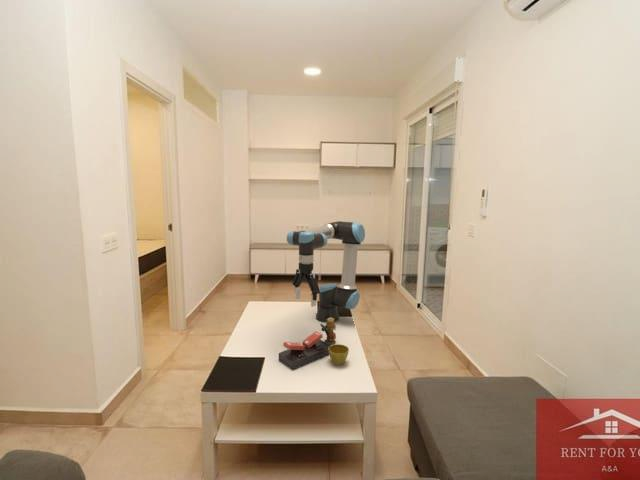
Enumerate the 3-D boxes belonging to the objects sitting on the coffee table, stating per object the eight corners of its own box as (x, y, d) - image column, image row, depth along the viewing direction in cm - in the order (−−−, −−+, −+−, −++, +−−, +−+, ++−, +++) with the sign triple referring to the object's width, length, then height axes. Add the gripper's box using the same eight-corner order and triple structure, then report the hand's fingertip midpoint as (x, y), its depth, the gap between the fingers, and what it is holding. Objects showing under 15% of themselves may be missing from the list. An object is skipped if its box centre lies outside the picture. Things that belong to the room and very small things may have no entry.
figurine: (338, 341, 193) (339, 316, 191) (333, 346, 186) (334, 320, 184) (323, 338, 197) (324, 313, 194) (318, 343, 190) (318, 317, 188)
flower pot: (328, 356, 175) (328, 343, 174) (347, 357, 175) (348, 344, 174) (327, 367, 165) (328, 353, 164) (348, 367, 165) (349, 354, 164)
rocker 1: (298, 346, 177) (299, 342, 177) (304, 350, 173) (305, 346, 173) (283, 345, 170) (284, 341, 170) (289, 349, 166) (290, 345, 166)
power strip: (317, 345, 188) (318, 335, 187) (332, 353, 179) (333, 343, 178) (278, 360, 171) (278, 350, 170) (293, 370, 162) (293, 359, 161)
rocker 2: (316, 334, 184) (315, 330, 184) (322, 337, 181) (322, 334, 180) (302, 344, 179) (301, 341, 178) (309, 348, 175) (308, 345, 174)
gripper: (286, 258, 181) (286, 297, 184) (315, 268, 162) (314, 311, 165) (297, 257, 185) (297, 294, 189) (327, 266, 166) (326, 307, 170)
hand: (305, 302), depth 177 cm, fingers open, 13 cm apart
